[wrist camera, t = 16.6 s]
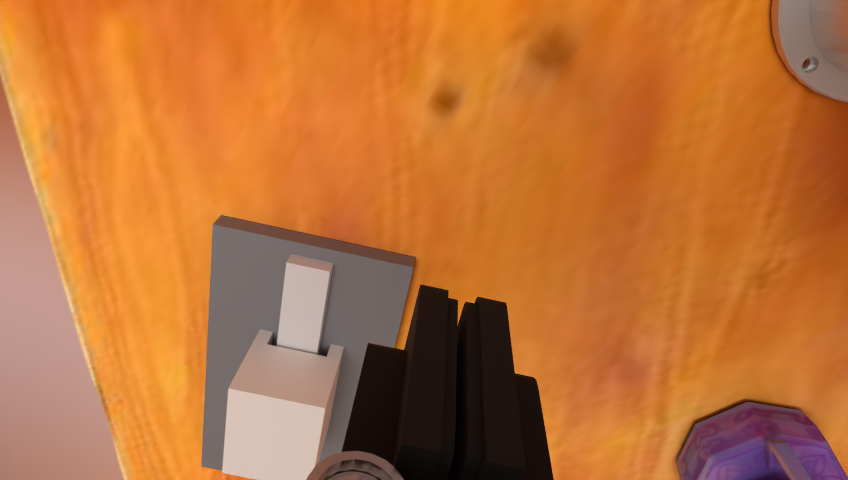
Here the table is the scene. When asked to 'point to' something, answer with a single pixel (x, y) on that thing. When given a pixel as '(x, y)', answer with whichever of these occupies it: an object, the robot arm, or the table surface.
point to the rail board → (296, 311)
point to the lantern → (758, 447)
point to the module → (279, 411)
